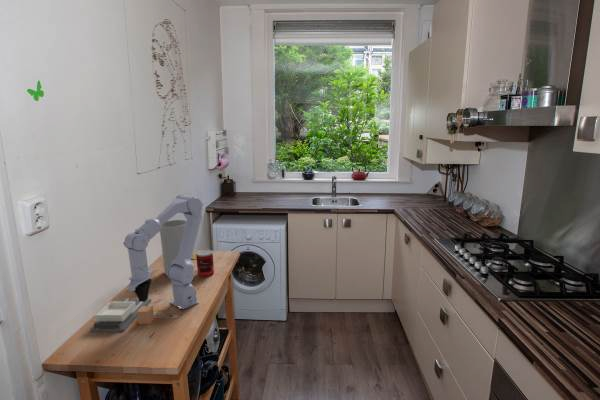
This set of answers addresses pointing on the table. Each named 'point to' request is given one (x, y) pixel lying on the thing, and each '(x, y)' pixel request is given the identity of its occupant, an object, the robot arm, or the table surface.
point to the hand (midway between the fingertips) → (143, 300)
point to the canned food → (205, 263)
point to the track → (116, 325)
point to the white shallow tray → (115, 311)
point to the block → (145, 314)
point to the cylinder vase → (171, 240)
